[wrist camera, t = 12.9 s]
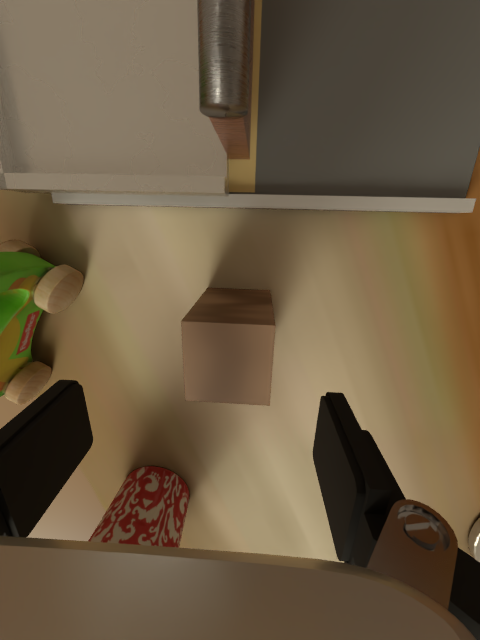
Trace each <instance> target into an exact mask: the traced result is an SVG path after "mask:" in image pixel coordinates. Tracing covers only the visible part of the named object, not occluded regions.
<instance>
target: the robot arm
mask: <svg viewBox="0 0 480 640" xmlns="http://www.w3.org/2000/svg"><path fill="white" fill-rule="evenodd" d="M92 443H93V435H92V431H91V426H90V421H89V416H88V411H87V407H86V402H85V397H84V392H83V388H82V386H81V385H80V384H79V383H78V382H77V381H75V380H59V381H57V382H56V383H55V384H54V385H53V386H51V387H50V388H49V389H48V390H47V391H45V392H44V393H43V394H42V395H41V396H39V397H38V398H37V399H36V400H35V401H34V402H32V403H31V404H30V405H29V406H28V407H26V408H25V409H24V410H23V411H22V412H20V413H19V414H18V415H17V416H16V417H14V418H13V419H12V420H11V421H10V422H8V423H7V424H6V425H5V426H4V427H3V428H1V429H0V640H480V517H479V519H478V520H477V521H476V522H475V523H474V525H473V527H472V529H471V531H470V535H469V539H468V543H469V549H470V552H471V554H472V556H473V557H474V558H473V557H471V556H470V555H468V554H467V553H465V552H464V551H462V550H461V549H460V548H458V543H457V538H456V536H455V533H454V531H453V530H452V528H451V527H450V525H449V524H448V523H447V521H446V520H445V519H444V518H443V517H442V516H441V515H440V514H439V513H437V512H436V511H435V510H433V509H432V508H430V507H429V506H427V505H425V504H423V503H420V502H418V501H414V500H410V499H408V500H406V499H405V497H404V495H403V493H402V491H401V489H400V487H399V486H398V484H397V482H396V480H395V478H394V476H393V474H392V473H391V471H390V469H389V467H388V465H387V463H386V461H385V460H384V458H383V456H382V454H381V452H380V450H379V449H378V447H377V445H376V443H375V441H374V439H373V437H372V436H371V434H370V433H369V432H368V431H367V430H361V428H360V426H359V424H358V422H357V420H356V418H355V416H354V414H353V412H352V410H351V408H350V406H349V404H348V402H347V400H346V398H345V396H344V394H343V393H333V392H327V393H326V396H321V400H320V406H319V413H318V420H317V426H316V433H315V440H314V447H313V460H314V464H315V468H316V472H317V476H318V480H319V484H320V489H321V493H322V497H323V501H324V505H325V509H326V513H327V517H328V521H329V525H330V529H331V533H332V537H333V541H334V545H335V550H336V554H337V557H338V559H339V561H344V563H341V562H334V561H327V560H320V559H311V558H301V557H290V556H280V555H269V554H257V553H244V552H230V551H217V550H204V549H190V548H176V547H162V546H148V545H133V544H118V543H103V542H89V541H73V540H57V539H41V538H40V539H39V538H26V537H27V536H28V535H29V534H30V533H31V531H32V530H33V528H34V527H35V525H36V524H37V523H38V521H39V520H40V518H41V517H42V516H43V514H44V513H45V511H46V510H47V508H48V507H49V506H50V504H51V503H52V501H53V500H54V499H55V497H56V496H57V494H58V493H59V491H60V490H61V489H62V487H63V486H64V485H65V483H66V482H67V480H68V479H69V478H70V476H71V475H72V473H73V472H74V470H75V469H76V468H77V466H78V465H79V463H80V462H81V461H82V459H83V458H84V456H85V455H86V454H87V452H88V451H89V449H90V448H91V446H92Z"/></svg>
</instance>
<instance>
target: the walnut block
mask: <svg viewBox="0 0 480 640" xmlns="http://www.w3.org/2000/svg"><path fill="white" fill-rule="evenodd" d="M181 327H182V347H183V367H184V386H185V400H187V401H203V402H219V403H235V404H251V405H267V406H270V393H271V379H272V365H273V351H274V338H275V320H274V313H273V307H272V300H271V293H270V290H251V289H226V288H207V289H206V291H205V292H204V293H203V294H202V296H201V297H200V298H199V300H198V301H197V302H196V303H195V305H194V306H193V307H192V308H191V310H190V311H189V312H188V313H187V315H186V316H185V317H184V318H183V320H182V321H181Z"/></svg>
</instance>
